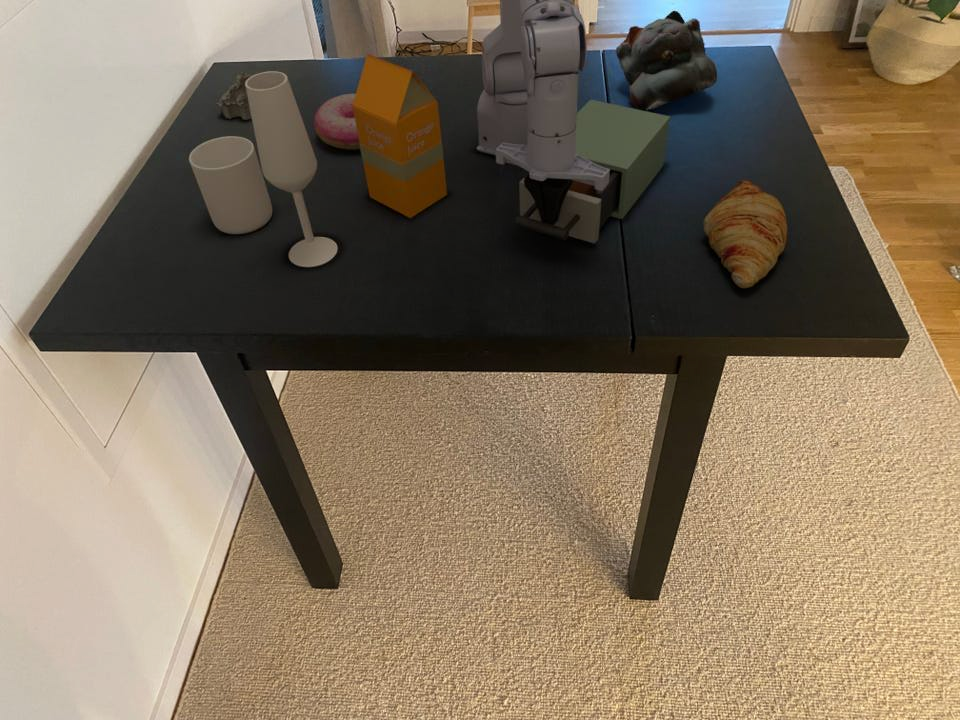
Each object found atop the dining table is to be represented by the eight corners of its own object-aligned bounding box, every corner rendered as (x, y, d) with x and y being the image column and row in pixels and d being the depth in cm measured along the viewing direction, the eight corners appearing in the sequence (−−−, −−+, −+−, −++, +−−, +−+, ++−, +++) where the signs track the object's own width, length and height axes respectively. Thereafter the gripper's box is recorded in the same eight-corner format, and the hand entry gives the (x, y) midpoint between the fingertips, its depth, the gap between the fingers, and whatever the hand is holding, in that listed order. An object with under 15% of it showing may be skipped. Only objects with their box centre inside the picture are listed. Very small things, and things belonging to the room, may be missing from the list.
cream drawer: (578, 264, 93) (580, 224, 88) (502, 240, 97) (500, 201, 93) (637, 188, 104) (642, 149, 100) (566, 170, 108) (567, 132, 104)
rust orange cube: (570, 190, 103) (572, 158, 99) (598, 197, 101) (600, 165, 98) (557, 205, 100) (558, 173, 97) (585, 213, 99) (587, 181, 95)
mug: (287, 189, 111) (269, 123, 103) (263, 236, 102) (241, 169, 95) (233, 188, 112) (210, 123, 104) (205, 236, 103) (178, 169, 96)
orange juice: (409, 218, 103) (389, 82, 89) (368, 197, 108) (343, 63, 94) (448, 194, 107) (434, 59, 93) (407, 174, 112) (388, 42, 97)
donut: (377, 161, 115) (372, 131, 111) (302, 151, 118) (295, 122, 115) (410, 120, 124) (406, 91, 120) (339, 111, 127) (333, 84, 124)
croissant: (761, 319, 90) (809, 278, 84) (693, 283, 88) (737, 239, 82) (755, 217, 104) (796, 176, 98) (696, 184, 102) (734, 140, 96)
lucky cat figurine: (627, 117, 120) (608, 28, 115) (629, 112, 131) (613, 30, 126) (722, 91, 115) (706, -3, 111) (716, 88, 126) (702, 2, 122)
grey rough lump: (249, 91, 135) (242, 69, 132) (284, 95, 133) (278, 73, 130) (216, 118, 128) (208, 95, 125) (253, 123, 126) (246, 100, 123)
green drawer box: (622, 219, 100) (627, 168, 95) (542, 197, 105) (542, 147, 100) (663, 165, 109) (670, 116, 104) (587, 147, 114) (590, 99, 109)
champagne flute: (344, 239, 101) (305, 68, 84) (327, 269, 96) (281, 96, 79) (299, 234, 102) (251, 66, 85) (280, 264, 98) (225, 93, 81)
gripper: (480, 127, 86) (486, 223, 95) (594, 155, 80) (588, 254, 90) (510, 101, 90) (512, 196, 99) (620, 126, 84) (611, 224, 94)
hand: (550, 222), depth 95 cm, fingers closed, pressing on cream drawer
